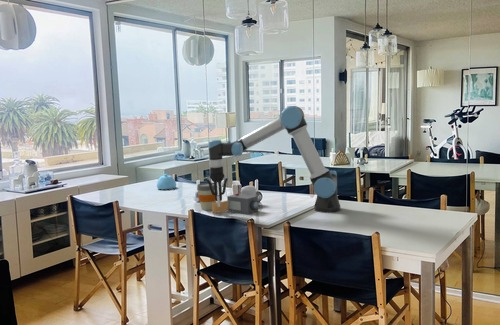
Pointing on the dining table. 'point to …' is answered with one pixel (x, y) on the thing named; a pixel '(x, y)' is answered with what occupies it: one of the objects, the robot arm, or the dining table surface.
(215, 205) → the side door
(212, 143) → the robot arm
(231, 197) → the camera body
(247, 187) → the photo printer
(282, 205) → the dining table surface
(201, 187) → the reusable coffee cup
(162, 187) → the sugar bowl
